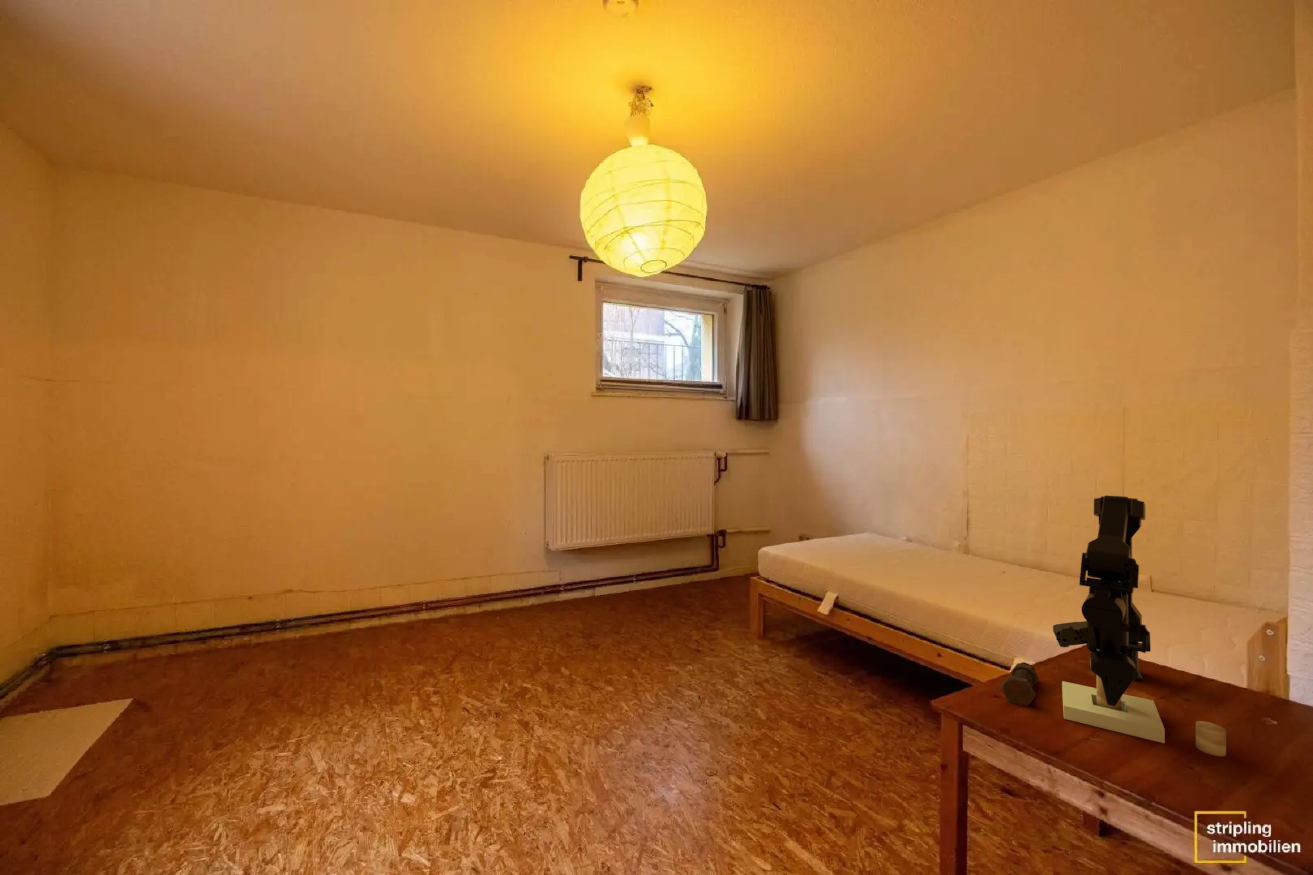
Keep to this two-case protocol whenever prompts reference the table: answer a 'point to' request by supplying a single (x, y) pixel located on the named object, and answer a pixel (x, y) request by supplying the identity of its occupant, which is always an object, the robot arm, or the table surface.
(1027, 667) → the bolt
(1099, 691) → the long pin
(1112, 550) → the robot arm
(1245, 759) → the table surface
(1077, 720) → the board
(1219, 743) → the short pin
